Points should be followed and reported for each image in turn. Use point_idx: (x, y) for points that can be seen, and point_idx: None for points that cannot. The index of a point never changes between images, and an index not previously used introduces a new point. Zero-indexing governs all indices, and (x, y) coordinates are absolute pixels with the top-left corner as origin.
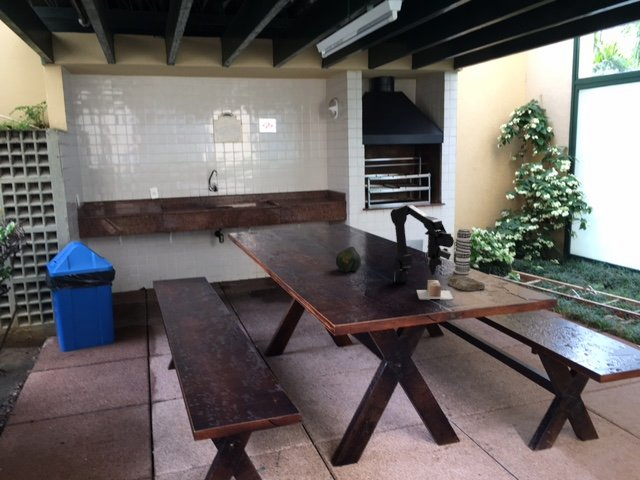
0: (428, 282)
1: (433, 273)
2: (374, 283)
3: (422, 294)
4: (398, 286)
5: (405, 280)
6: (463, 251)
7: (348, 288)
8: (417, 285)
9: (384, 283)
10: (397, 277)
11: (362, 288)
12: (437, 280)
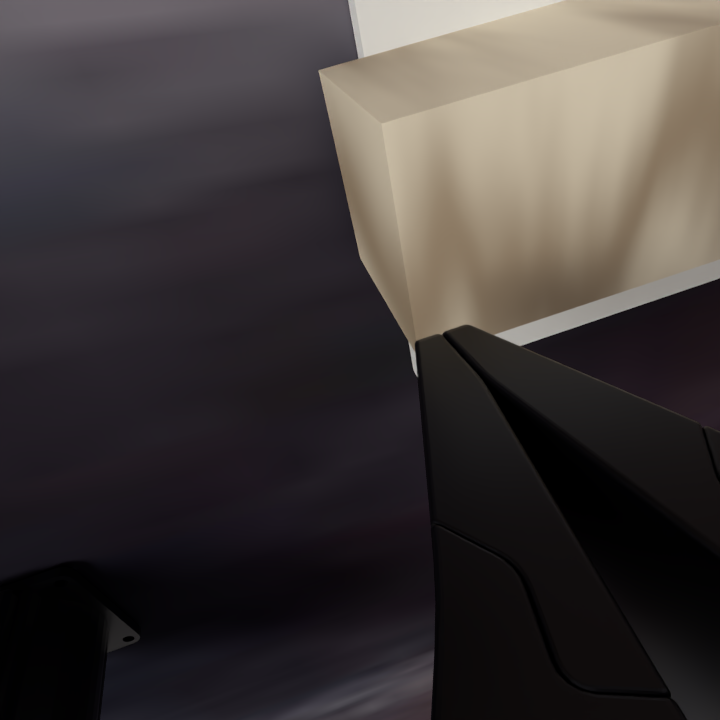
0: (550, 304)
1: (509, 358)
2: (243, 691)
3: None
4: (262, 562)
5: (33, 608)
6: None
7: (429, 699)
8: (97, 443)
9: (205, 661)
10: (100, 689)
11: (412, 668)
12: (419, 129)
